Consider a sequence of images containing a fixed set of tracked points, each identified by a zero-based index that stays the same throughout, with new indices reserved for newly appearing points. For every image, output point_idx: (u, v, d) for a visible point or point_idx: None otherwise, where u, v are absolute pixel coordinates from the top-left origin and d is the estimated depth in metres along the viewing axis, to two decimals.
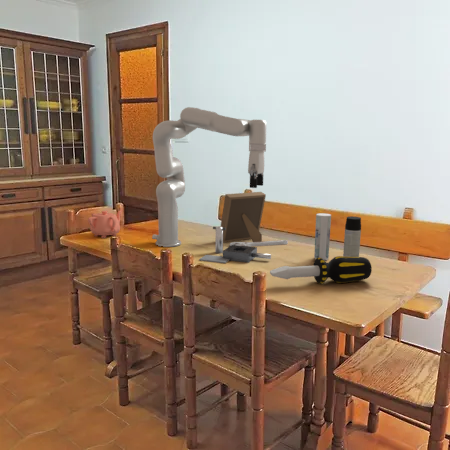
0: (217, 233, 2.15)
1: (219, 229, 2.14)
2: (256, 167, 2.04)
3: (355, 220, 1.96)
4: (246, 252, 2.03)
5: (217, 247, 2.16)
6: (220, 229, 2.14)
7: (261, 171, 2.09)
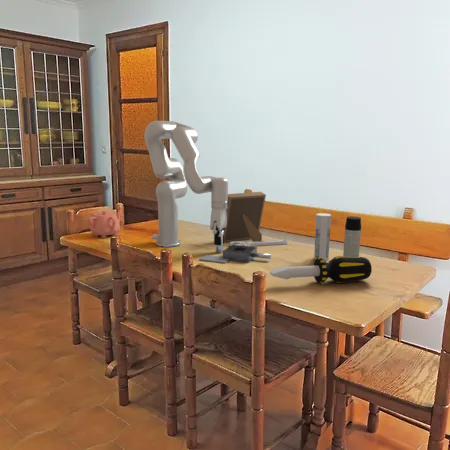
0: None
1: None
2: (217, 224, 2.10)
3: (355, 220, 1.96)
4: (246, 252, 2.03)
5: (217, 247, 2.16)
6: None
7: (223, 227, 2.15)
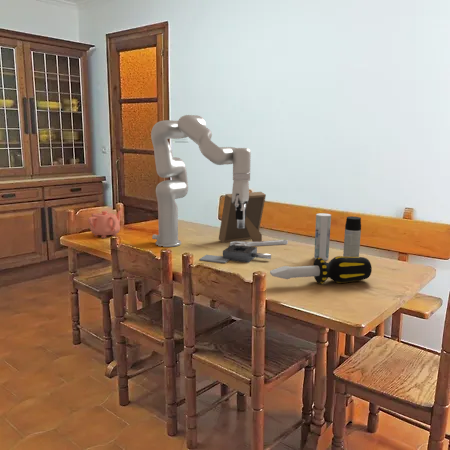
0: None
1: None
2: (240, 197, 1.99)
3: (355, 220, 1.96)
4: (246, 252, 2.03)
5: (239, 222, 2.05)
6: None
7: (245, 200, 2.04)
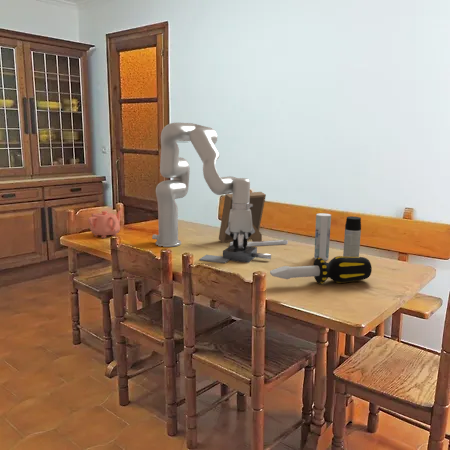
0: None
1: None
2: (229, 225, 2.04)
3: (355, 220, 1.96)
4: (246, 252, 2.03)
5: None
6: None
7: (241, 230, 2.05)
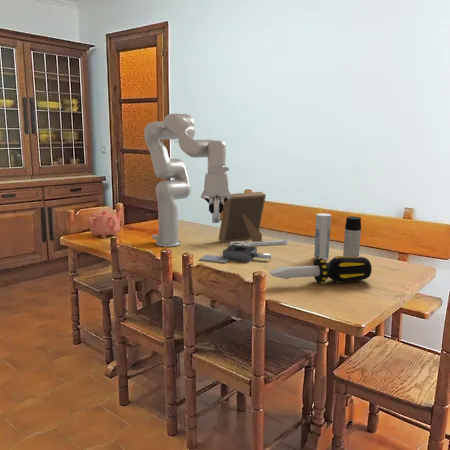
0: (212, 200, 2.01)
1: None
2: (205, 189, 1.98)
3: (355, 220, 1.96)
4: (246, 252, 2.03)
5: (212, 215, 2.02)
6: None
7: None
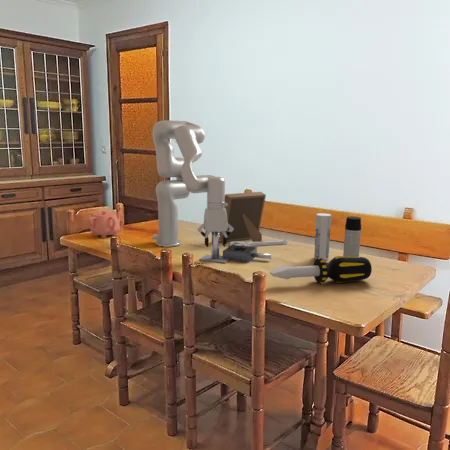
0: None
1: (212, 233, 2.03)
2: (204, 225, 2.01)
3: (355, 220, 1.96)
4: (246, 252, 2.03)
5: None
6: (212, 233, 2.02)
7: (216, 230, 2.01)
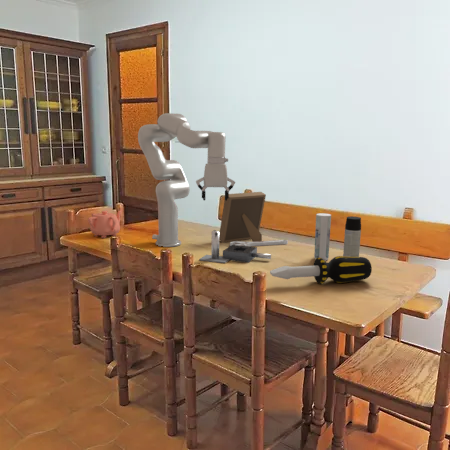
0: None
1: (212, 233, 2.03)
2: (204, 180, 2.03)
3: (355, 220, 1.96)
4: (246, 252, 2.03)
5: None
6: (212, 233, 2.02)
7: (216, 185, 2.03)
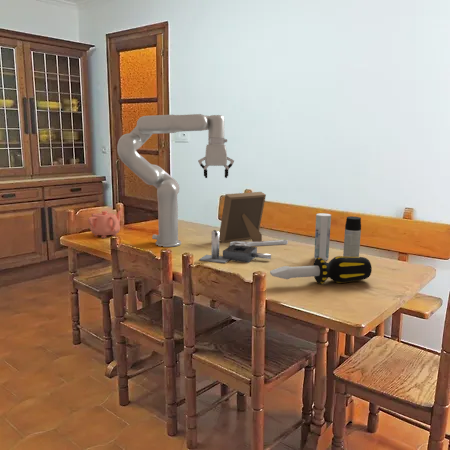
0: None
1: (212, 233, 2.03)
2: (206, 159, 2.22)
3: (355, 220, 1.96)
4: (246, 252, 2.03)
5: None
6: (212, 233, 2.02)
7: (217, 163, 2.22)
